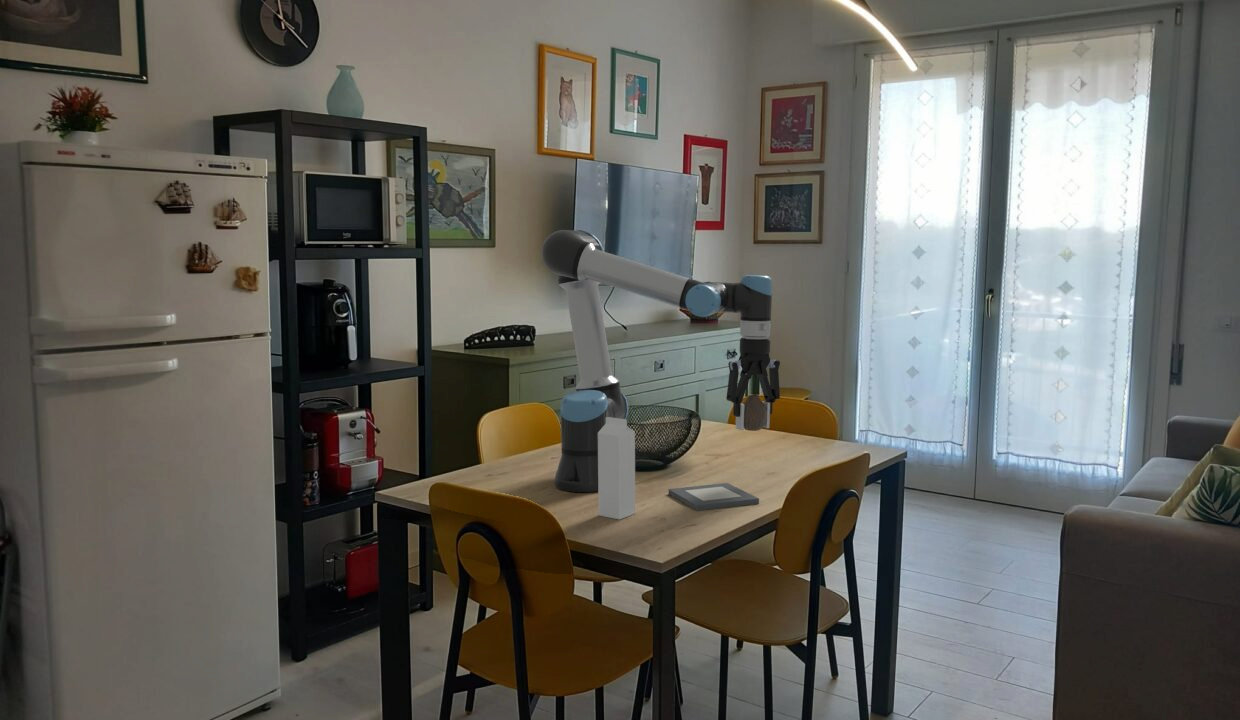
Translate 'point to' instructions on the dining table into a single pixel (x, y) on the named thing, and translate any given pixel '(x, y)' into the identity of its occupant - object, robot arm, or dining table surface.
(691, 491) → the rest mat
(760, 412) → the vase
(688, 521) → the dining table surface
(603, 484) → the milk
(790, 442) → the dining table surface
